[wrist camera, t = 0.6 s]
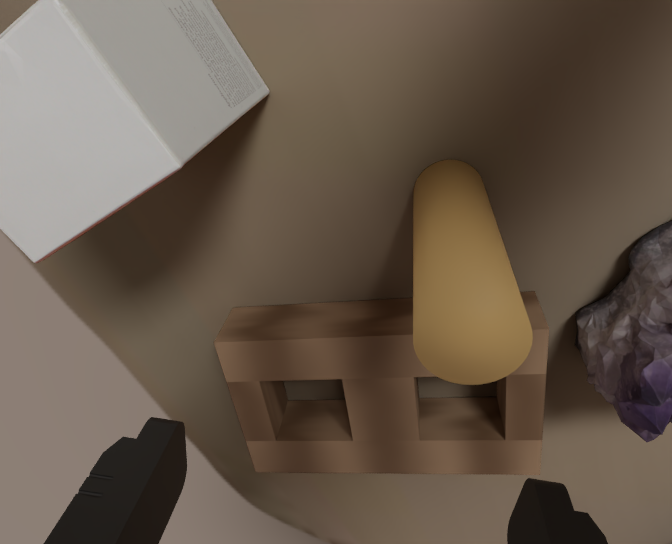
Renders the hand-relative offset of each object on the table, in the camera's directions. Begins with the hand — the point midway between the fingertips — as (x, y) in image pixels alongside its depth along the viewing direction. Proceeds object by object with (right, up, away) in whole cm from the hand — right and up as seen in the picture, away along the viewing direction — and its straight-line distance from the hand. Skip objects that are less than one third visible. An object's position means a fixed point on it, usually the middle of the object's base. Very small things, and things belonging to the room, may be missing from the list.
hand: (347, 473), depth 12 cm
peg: (+6, +9, +18) cm, 21 cm away
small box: (-9, +15, +17) cm, 24 cm away
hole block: (+3, -2, +25) cm, 25 cm away
